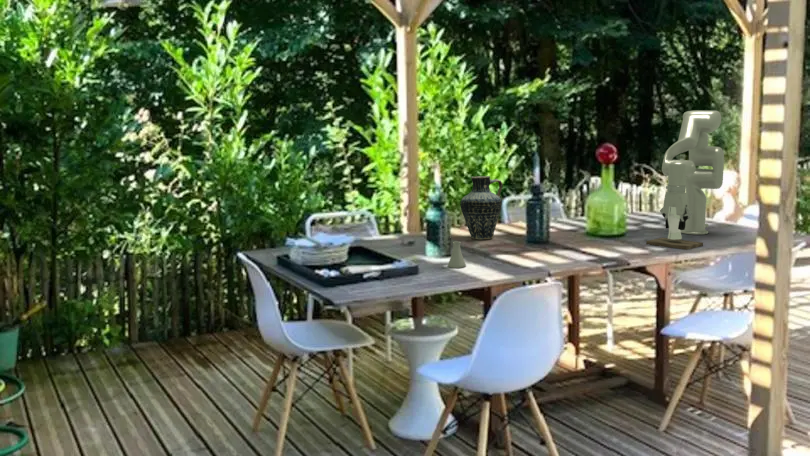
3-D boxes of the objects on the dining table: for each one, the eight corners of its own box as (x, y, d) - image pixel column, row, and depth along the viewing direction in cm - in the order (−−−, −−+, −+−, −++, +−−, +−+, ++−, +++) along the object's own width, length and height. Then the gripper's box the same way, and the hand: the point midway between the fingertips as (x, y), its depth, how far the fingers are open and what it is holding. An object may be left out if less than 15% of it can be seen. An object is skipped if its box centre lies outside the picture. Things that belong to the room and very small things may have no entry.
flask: (453, 264, 331) (453, 239, 330) (469, 266, 327) (469, 241, 326) (444, 267, 325) (444, 242, 324) (459, 269, 321) (459, 244, 320)
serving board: (663, 240, 383) (663, 237, 383) (702, 245, 368) (703, 242, 368) (646, 244, 374) (646, 240, 373) (686, 249, 359) (686, 246, 359)
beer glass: (683, 240, 366) (685, 207, 364) (667, 240, 368) (668, 206, 366) (681, 237, 373) (683, 205, 371) (665, 237, 375) (666, 204, 372)
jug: (472, 243, 381) (472, 178, 376) (453, 237, 398) (453, 175, 394) (511, 239, 389) (511, 176, 385) (490, 234, 407) (490, 173, 402)
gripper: (654, 188, 371) (653, 227, 374) (689, 191, 358) (688, 232, 361) (664, 187, 376) (662, 226, 379) (698, 190, 363) (697, 230, 366)
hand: (675, 228), depth 370 cm, fingers closed on beer glass, 6 cm apart
